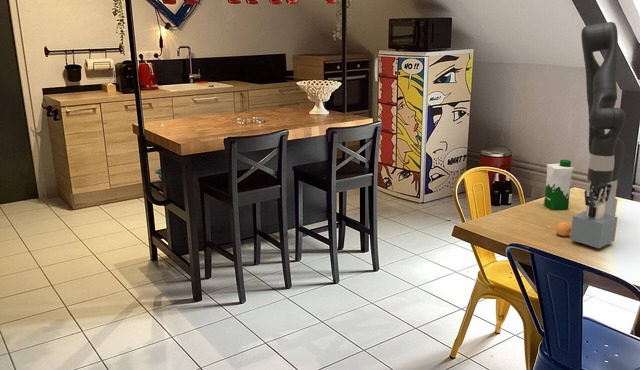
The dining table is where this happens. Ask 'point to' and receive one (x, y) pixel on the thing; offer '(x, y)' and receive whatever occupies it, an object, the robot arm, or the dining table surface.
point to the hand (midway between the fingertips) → (595, 215)
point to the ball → (563, 229)
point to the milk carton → (558, 185)
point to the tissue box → (594, 227)
